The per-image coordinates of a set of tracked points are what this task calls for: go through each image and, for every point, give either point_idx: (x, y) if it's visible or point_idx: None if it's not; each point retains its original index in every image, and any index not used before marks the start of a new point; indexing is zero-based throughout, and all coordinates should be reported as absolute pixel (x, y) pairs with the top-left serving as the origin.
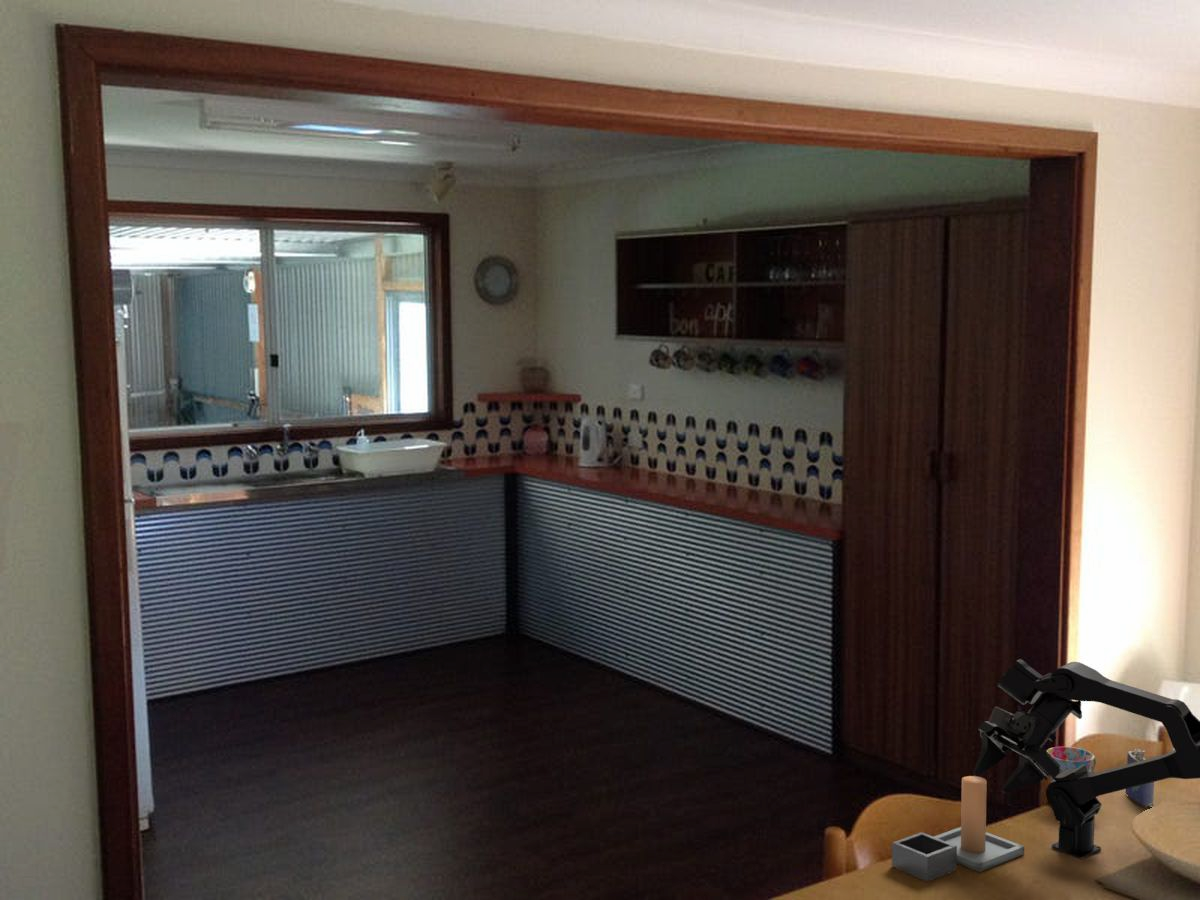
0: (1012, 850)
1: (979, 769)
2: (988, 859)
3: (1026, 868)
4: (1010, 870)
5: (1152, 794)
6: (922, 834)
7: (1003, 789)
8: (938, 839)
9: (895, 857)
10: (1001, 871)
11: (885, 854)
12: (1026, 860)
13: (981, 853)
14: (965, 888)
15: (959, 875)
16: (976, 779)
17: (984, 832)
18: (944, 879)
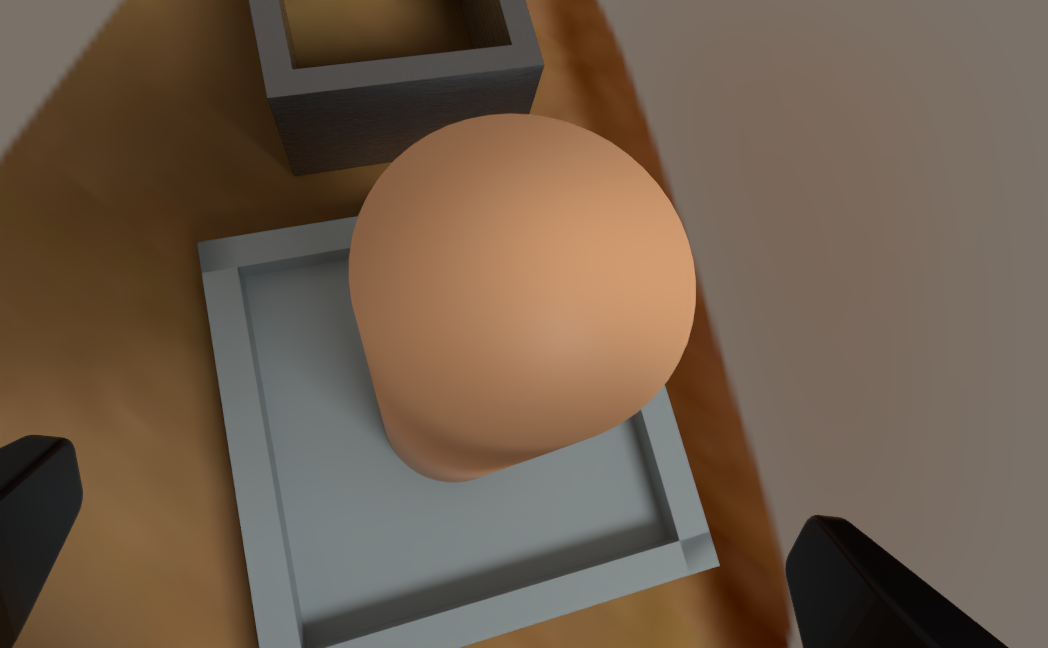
0: (253, 574)
1: (848, 608)
2: (222, 334)
3: (102, 553)
4: (135, 439)
5: None
6: (510, 46)
7: (19, 443)
8: (404, 71)
9: None
10: (154, 380)
11: (596, 21)
12: (197, 640)
13: (373, 407)
14: (94, 75)
15: (236, 149)
16: (541, 317)
17: (385, 426)
18: (236, 60)
